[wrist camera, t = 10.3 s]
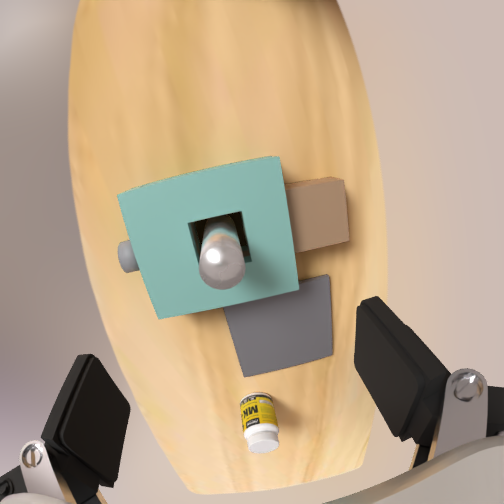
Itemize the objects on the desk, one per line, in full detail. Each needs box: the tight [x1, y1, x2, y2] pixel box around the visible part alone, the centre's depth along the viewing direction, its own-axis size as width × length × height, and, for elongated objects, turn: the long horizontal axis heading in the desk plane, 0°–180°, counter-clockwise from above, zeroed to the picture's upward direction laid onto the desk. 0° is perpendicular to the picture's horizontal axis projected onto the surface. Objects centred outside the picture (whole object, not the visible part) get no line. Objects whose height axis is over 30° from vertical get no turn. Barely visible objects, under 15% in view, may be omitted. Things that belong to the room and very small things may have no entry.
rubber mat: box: [223, 274, 332, 377], centre depth 32 cm, size 12×12×1 cm
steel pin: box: [199, 214, 245, 290], centre depth 22 cm, size 3×3×10 cm
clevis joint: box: [117, 156, 349, 319], centre depth 25 cm, size 22×12×4 cm, turn 101°
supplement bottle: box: [240, 392, 279, 453], centre depth 32 cm, size 5×5×8 cm
